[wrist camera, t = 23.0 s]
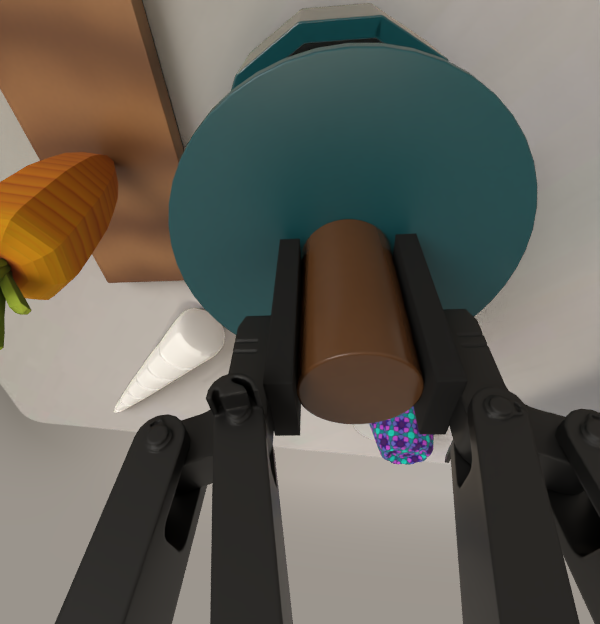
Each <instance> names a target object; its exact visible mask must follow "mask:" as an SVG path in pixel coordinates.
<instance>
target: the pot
mask: <svg viewBox="0 0 600 624" xmlns="http://www.w3.org/2000/svg"><path fill="white" fill-rule="evenodd" d="M372 38H376V39H378V40H379V41H381V42H382V43H385V44H391V45H397V46H404V47H410V48H414V49H417V50H420V51H423V52H426V53H429V54H432V55H435V56H438V57H441V58H443V59H445V60H447V61H448V59H447V58H446V57H445V56H444V55H442V54H441V53H440V52H439V51H438V50H436V49H435V48H434V47H433V46H432V45H430V44H429V43H428V42H427V41H426V40H424V39H423V38H421V37H420V36H418V35H417V34H416V33H414V32H413V31H411V30H410V29H408V28H407V27H405V26H404V25H402V24H401V23H399V22H398V21H396V20H395V19H394V18H392V17H391V16H389V15H388V14H386V13H385V12H383V11H382V10H380V9H379V8H377V7H376V6H374V5H373V4H371V3H364V4H352V5H340V6H328V7H316V8H304V9H301V10H300V11H298V12H297V13H296V14H295V15H294V16H293V17H291V18H290V19H289V20H288V21H287V22H286V23H284V24H283V25H282V26H281V27H280V28H279V29H277V30H276V31H275V32H274V33H273V34H272V35H270V36H269V37H268V38H267V39H266V40H265V41H263V42H262V43H261V44H260V45H259V46H258V47H256V48H255V49H254V50H253V51H252V52H251V53H249V55H248V57H247V58H246V60H245V61H244V63H243V64H242V66H241V68H240V69H239V71H238V72H237V74H236V76H235V79H234V82H233V85H232V89H234V88H235V87H237V86H238V85H239V84H241V83H242V82H244V81H245V80H247V79H248V78H249V77H251V76H252V75H254V74H255V73H256V72H258V71H260V70H262V69H264V68H266V67H268V66H270V65H272V64H274V63H276V62H278V61H280V60H282V59H284V58H287V57H289V56H290V55H291V54H293V53H294V52H295V51H296V50H298V49H299V48H300V47H301V46H302V45H304V44H307V43H320V42H333V41H346V40H359V39H372ZM232 89H231V90H232ZM188 143H189V142H188ZM187 145H188V144H187ZM187 145H186V147H187Z"/></svg>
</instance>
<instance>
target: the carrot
mask: <svg viewBox="0 0 600 624" xmlns="http://www.w3.org/2000/svg"><path fill="white" fill-rule="evenodd" d="M117 199H118V180H117V175H116V170H115V165H114V161H113V160H112V159H111V158H109V157H108V156H107V155H101V154H93V153H86V152H72V153H63V154H60V155H56V156H53V157H50V158H47V159H44V160H41V161H39V162H36V163H33V164H31V165H28V166H26V167H24V168H23V169H21V170H20V171H18V172H16V173H15V174H13V175H11V176H10V177H8V178H6V179H5V180H3V181H1V182H0V350H1V349H2V348H3V346H4V334H5V332H4V314H5V301H7V303H8V305H9V307H10V308H11V309H12V310H13V311H14V312H15V313H18V314H28V313H29V312H31V309H30V307H29V305H28V303H27V301H26V300H25V298H29V299H38V300H49V299H50V298H52V297H53V296H55V295H56V294H57V293H58V292H59V291H60V290H61V289H62V288H64V287H65V286H66V285H67V284H68V283H69V282H70V281H71V280H72V279H74V278H75V277H76V276H77V275H78V273H79V272H80V271H81V269H82V268H83V266H84V265H85V263H86V262H87V260H88V259H89V257H90V256H91V254H92V253H93V251H94V250H95V248H96V247H97V245H98V244H99V242H100V240H101V239H102V237H103V235H104V234H105V232H106V230H107V229H108V226H109V223H110V221H111V218H112V216H113V213H114V210H115V206H116V203H117Z"/></svg>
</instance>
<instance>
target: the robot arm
mask: <svg viewBox="0 0 600 624" xmlns="http://www.w3.org/2000/svg"><path fill="white" fill-rule="evenodd" d="M393 260H394V264H395V268H396V272H397V276H398V280H399V284H400V288H401V291H402V295H403V299H404V303H405V307H406V311H407V315H408V319H409V323H410V327H411V331H412V335H413V339H414V343H415V347H416V351H417V355H418V359H419V363H420V367H421V371H422V375H423V379H424V389H423V393H422V396H421V398H420V399H419V401H418V402H417V403H416V404H415V405H414V406H413V407H414V411H415V416H416V421H417V425H418V430H419V434H446V432H447V430H448V427H449V425H450V429H451V433H452V436H453V441H452V443H451V445H450V447H449V449H448V452H447V454H446V458H445V462H447V463H449V461H450V459H451V467H452V479H453V480H452V481H453V494H454V507H455V520H456V535H457V548H458V561H459V574H460V588H461V602H462V615H463V624H579V620H578V615H577V611H576V607H575V603H574V599H573V595H572V590H571V586H570V583H569V578H568V574H567V570H566V566H565V562H564V558H565V560H566V562H567V564H568V566H569V569H570V571H571V573H572V575H573V577H574V580H575V582H576V584H577V586H578V588H579V590H580V593H581V595H582V597H583V599H584V601H585V604H586V606H587V608H588V610H589V612H590V614H591V617H592V618H593V621H594V623H595V624H600V413H599V412H596V411H593V410H586V409H579V410H575V411H571V412H570V413H569V414H568V415H567V416H566V417H564V416H560V415H556V414H552V413H548V412H545V411H541V410H537V409H534V408H532V407H529V406H527V405H525V404H524V403H523V402H522V401H521V400H520V399H519V398H518V397H517V396H516V395H515V394H513V393H511V392H510V391H508V389H507V387H506V386H505V384H504V382H503V379H502V377H501V375H500V372H499V370H498V368H497V365H496V363H495V361H494V358H493V356H492V354H491V352H490V349H489V347H488V346H487V342H486V340H485V338H484V336H483V335H482V331H481V328H480V326H479V324H478V322H477V320H476V319H475V318H474V317H473V316H472V315H471V314H470V313H469V312H468V311H467V310H466V309H443V308H442V305H441V302H440V299H439V297H438V294H437V291H436V288H435V285H434V282H433V280H432V277H431V274H430V271H429V268H428V265H427V263H426V260H425V257H424V254H423V251H422V248H421V246H420V243H419V240H418V237H417V234H416V233H415V234H396V235H395V242H394V250H393ZM301 263H302V260H301V248H300V239H280V243H279V251H278V260H277V268H276V277H275V285H274V294H273V302H272V310H271V315H267V316H246V317H245V318H244V320H243V321H242V322H241V324H240V325H239V327H238V329H237V334H236V339H235V344H234V349H233V354H232V359H231V364H230V369H229V374H228V375H225V376H222V377H221V378H219V379H218V380H216V381H215V382H214V383H213V384H212V386H211V387H210V388H209V390H208V393H207V397H206V400H207V402H208V404H209V406H210V409H211V410H209V411H207V412H205V413H203V414H201V415H197V416H194V417H191V418H188V419H185V420H182V421H181V420H179V419H178V418H177V417H176V416H172V415H160V416H157V417H155V418H152V419H150V420H148V421H147V422H146V423H145V424H144V425H143V426H141V427H140V429H139V431H138V432H137V434H136V435H135V437H134V440H133V442H132V444H131V447H130V449H129V451H128V454H127V456H126V458H125V461H124V463H123V465H122V468H121V470H120V472H119V475H118V477H117V479H116V482H115V484H114V486H113V489H112V491H111V493H110V496H109V498H108V500H107V503H106V505H105V507H104V510H103V512H102V514H101V517H100V519H99V521H98V524H97V526H96V528H95V531H94V533H93V536H92V538H91V540H90V542H89V545H88V547H87V549H86V552H85V554H84V557H83V559H82V561H81V564H80V566H79V568H78V571H77V573H76V575H75V578H74V580H73V582H72V585H71V587H70V589H69V592H68V594H67V597H66V599H65V601H64V603H63V606H62V608H61V610H60V613H59V615H58V617H57V620H56V622H55V624H172V621H173V617H174V613H175V609H176V605H177V601H178V597H179V593H180V589H181V585H182V581H183V578H184V573H185V570H186V566H187V562H188V558H189V554H190V550H191V546H192V542H193V538H194V535H195V531H196V527H197V523H198V519H199V515H200V511H201V507H202V503H203V499H204V495H205V492H206V488H207V485H208V484H211V483H213V492H212V554H211V623H210V624H293V620H292V611H291V603H290V602H291V601H290V593H289V584H288V574H287V564H286V555H285V546H284V537H283V527H282V519H281V509H280V499H279V490H278V481H277V472H276V462H275V453H274V449H273V433H275V436H280V435H300V416H301V403H300V401H299V399H298V396H297V387H296V385H297V361H298V336H299V312H300V287H301ZM563 556H564V558H563Z"/></svg>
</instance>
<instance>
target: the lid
mask: <svg viewBox="0 0 600 624" xmlns="http://www.w3.org/2000/svg"><path fill="white" fill-rule="evenodd" d="M536 209H537V179H536V172H535V166H534V160H533V157H532V154H531V151H530V148H529V145H528V142H527V140H526V137H525V135H524V134H523V132H522V130H521V128H520V127H519V125H518V123H517V121H516V119H515V118H514V116H513V115H512V113H511V112H510V111H509V110H508V109H507V107H506V106H505V105H504V104H503V103H502V102H501V100H500V99H499V98H498V97H497V96H496V95H495V94H494V93H493V92H492V91H491V90H489V89H488V88H487V87H486V86H484V85H483V84H482V83H481V82H480V81H478V80H477V79H476V78H475V77H473V76H472V75H471V74H470V73H468V72H467V71H465V70H463V69H461V68H459V67H458V66H456V65H454V64H452V63H450V62H449V61H447V60H445V59H443V58H441V57H438V56H435V55H432V54H429V53H426V52H423V51H420V50H417V49H414V48H410V47H404V46H397V45H391V44H385V43H345V44H338V45H332V46H326V47H319V48H315V49H311V50H308V51H305V52H302V53H299V54H296V55H293V56H290V57H287V58H284V59H282V60H280V61H278V62H276V63H274V64H272V65H270V66H268V67H266V68H264V69H262V70H260V71H258V72H256V73H255V74H254V75H252V76H251V77H249V78H248V79H247V80H245V81H244V82H242V83H241V84H239V85H238V86H237V87H235V88H234V89H232V90H231V91H230V92H229V93H228V94H227V95H226V96H225V97H224V98H223V99H222V100H221V101H220V102H219V103H218V104H217V105H216V106H215V107H214V108H213V109H212V110H211V111H210V113H209V114H208V115H207V117H206V118H205V119H204V121H203V122H202V123H201V125H200V126H199V127H198V128H197V130H196V131H195V133H194V134H193V136H192V138H191V140H190V141H189V143H188V145H187V147H186V149H185V151H184V153H183V155H182V156H181V158H180V161H179V164H178V167H177V170H176V173H175V176H174V178H173V181H172V187H171V193H170V199H169V213H168V226H169V233H170V240H171V246H172V250H173V253H174V256H175V260H176V263H177V266H178V268H179V270H180V272H181V274H182V276H183V279H184V281H185V282H186V284H187V286H188V287H189V289H190V290H191V292H192V294H193V295H194V297H195V298H196V299H197V300H198V301H199V303H200V304H201V305H202V306H203V307H204V309H205V310H206V311H207V312H208V313H209V314H210V315H211V316H212V317H214V318H215V319H216V320H217V321H218V322H219V323H220V324H222V325H223V326H224V327H226V328H227V329H228V330H229V331H231V332H232V333H234V334H235V335H236V334H237V329H238V327H239V325H240V324H241V322H242V321H243V320H244V318H245V317H246V316H267V315H271V310H272V302H273V294H274V285H275V277H276V268H277V260H278V251H279V243H280V239H300V248H301V260H302V263H301V287H300V312H299V336H298V361H297V385H296V387H297V396H298V399H299V401H300V403H301V404H302V405H303V407H304V408H305V409H306V410H308V411H309V412H310V413H312V414H314V415H315V416H317V417H320V418H322V419H325V420H328V421H332V422H336V423H343V424H369V423H376V422H381V421H385V420H388V419H391V418H394V417H396V416H399V415H401V414H403V413H404V412H406V411H408V410H409V409H411V408H412V407H413V406H414V405H415V404H416V403H417V402H418V401H419V399H420V398H421V396H422V393H423V389H424V379H423V375H422V371H421V367H420V363H419V359H418V355H417V351H416V347H415V343H414V339H413V335H412V331H411V327H410V323H409V319H408V315H407V311H406V307H405V303H404V299H403V295H402V291H401V288H400V284H399V280H398V276H397V272H396V268H395V264H394V260H393V250H394V242H395V235H396V234H415V233H416V234H417V237H418V240H419V243H420V246H421V248H422V251H423V254H424V257H425V260H426V263H427V265H428V268H429V271H430V274H431V277H432V280H433V282H434V285H435V288H436V291H437V294H438V297H439V299H440V302H441V305H442V308H443V309H466V310H467V311H468V312H469V313H470V314H471V315H472V316H473V317H474V316H475V315H477V314H478V313H479V312H480V311H481V310H482V309H483V308H484V307H485V306H486V305H487V304H488V303H489V302H491V301H492V300H493V298H494V297H495V296H496V295H497V294H498V293H499V291H500V290H501V289H502V288H503V287H504V286H505V284H506V283H507V281H508V280H509V278H510V277H511V275H512V274H513V272H514V271H515V269H516V268H517V266H518V264H519V262H520V260H521V258H522V256H523V254H524V252H525V250H526V247H527V244H528V242H529V239H530V236H531V233H532V230H533V225H534V220H535V214H536Z"/></svg>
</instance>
